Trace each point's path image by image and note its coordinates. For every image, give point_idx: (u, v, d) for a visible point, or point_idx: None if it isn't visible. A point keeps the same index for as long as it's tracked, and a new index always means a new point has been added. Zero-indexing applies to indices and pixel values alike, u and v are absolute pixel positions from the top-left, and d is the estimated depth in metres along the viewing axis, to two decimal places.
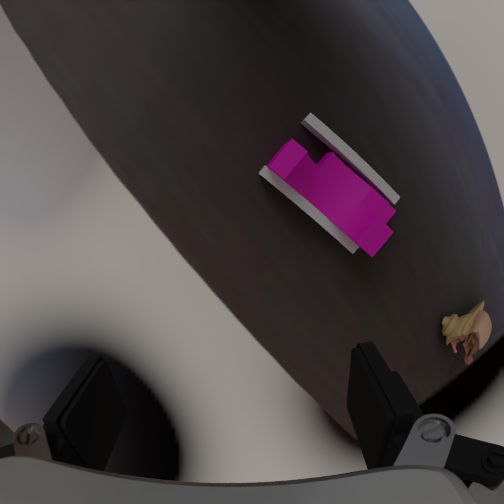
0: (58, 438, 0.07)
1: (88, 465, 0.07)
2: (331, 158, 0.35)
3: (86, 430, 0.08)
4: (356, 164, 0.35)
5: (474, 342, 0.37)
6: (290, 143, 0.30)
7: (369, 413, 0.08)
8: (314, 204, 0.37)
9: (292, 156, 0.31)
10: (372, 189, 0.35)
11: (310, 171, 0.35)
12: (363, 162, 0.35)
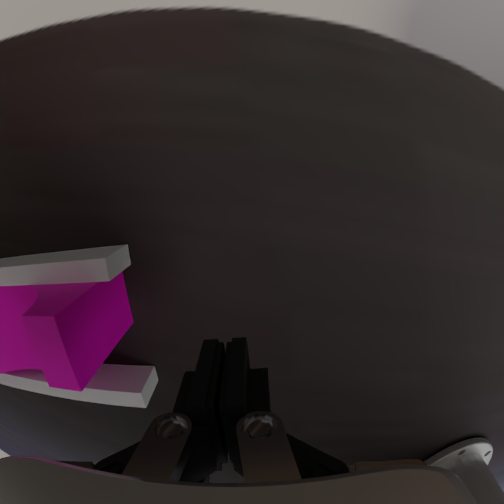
0: (200, 425, 0.08)
1: (222, 450, 0.08)
2: None
3: None
4: (42, 383, 0.17)
5: None
6: (74, 382, 0.11)
7: None
8: (13, 286, 0.15)
9: (51, 363, 0.11)
10: None
11: None
12: (41, 391, 0.17)
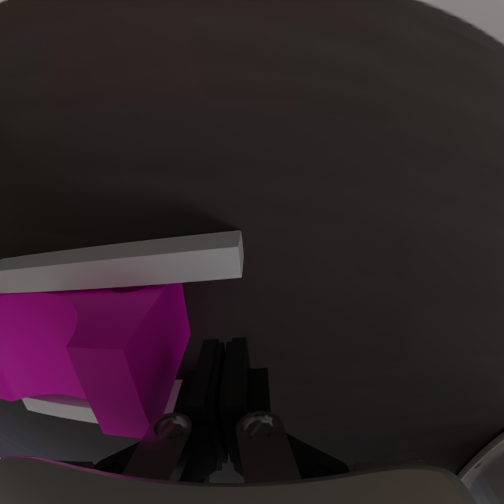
0: (200, 425, 0.08)
1: (222, 450, 0.08)
2: None
3: None
4: None
5: None
6: (146, 429, 0.09)
7: None
8: (32, 296, 0.13)
9: (111, 408, 0.09)
10: (11, 398, 0.13)
11: None
12: None
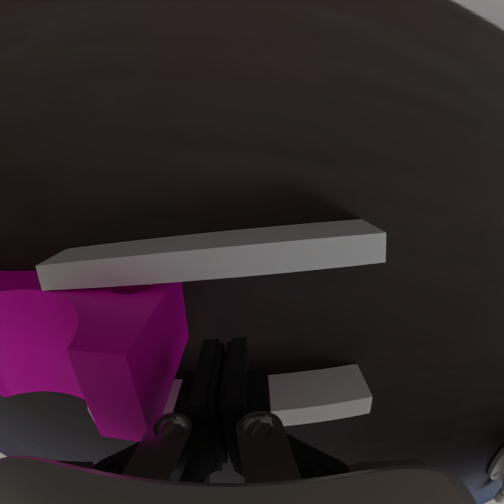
0: (200, 425, 0.08)
1: (222, 450, 0.08)
2: None
3: None
4: None
5: None
6: None
7: None
8: (31, 293, 0.12)
9: (110, 411, 0.08)
10: (5, 394, 0.12)
11: None
12: None
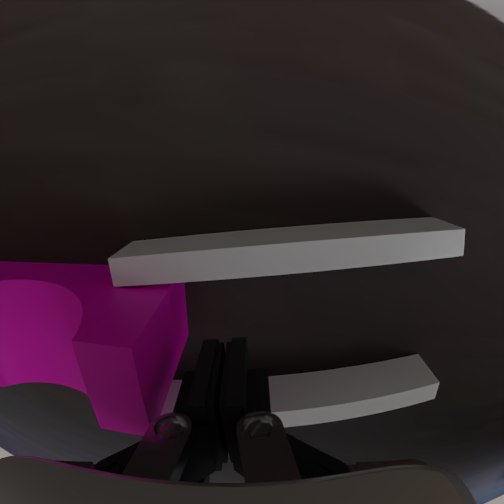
0: (200, 425, 0.08)
1: (222, 450, 0.08)
2: None
3: None
4: (293, 412, 0.14)
5: None
6: (145, 427, 0.09)
7: None
8: (34, 283, 0.12)
9: (112, 404, 0.09)
10: (2, 383, 0.13)
11: None
12: (283, 424, 0.14)
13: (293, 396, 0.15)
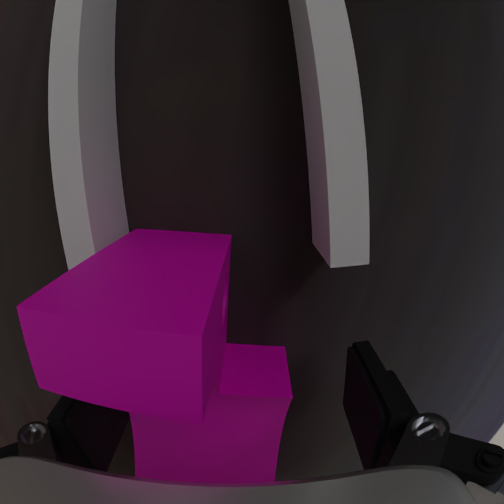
0: (62, 437, 0.07)
1: (92, 464, 0.08)
2: (272, 402, 0.10)
3: (90, 428, 0.08)
4: (316, 28, 0.07)
5: None
6: (170, 342, 0.05)
7: (364, 412, 0.08)
8: (133, 415, 0.11)
9: (126, 380, 0.05)
10: None
11: None
12: (345, 44, 0.07)
13: (304, 37, 0.08)
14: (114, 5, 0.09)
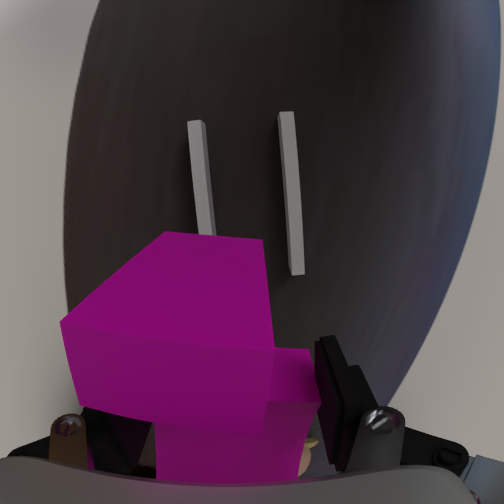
0: (98, 428, 0.08)
1: (126, 454, 0.08)
2: (302, 406, 0.10)
3: (124, 419, 0.09)
4: (289, 200, 0.28)
5: None
6: (241, 358, 0.05)
7: (326, 403, 0.09)
8: None
9: (186, 397, 0.05)
10: None
11: None
12: (298, 205, 0.28)
13: (286, 198, 0.29)
14: (208, 164, 0.30)
